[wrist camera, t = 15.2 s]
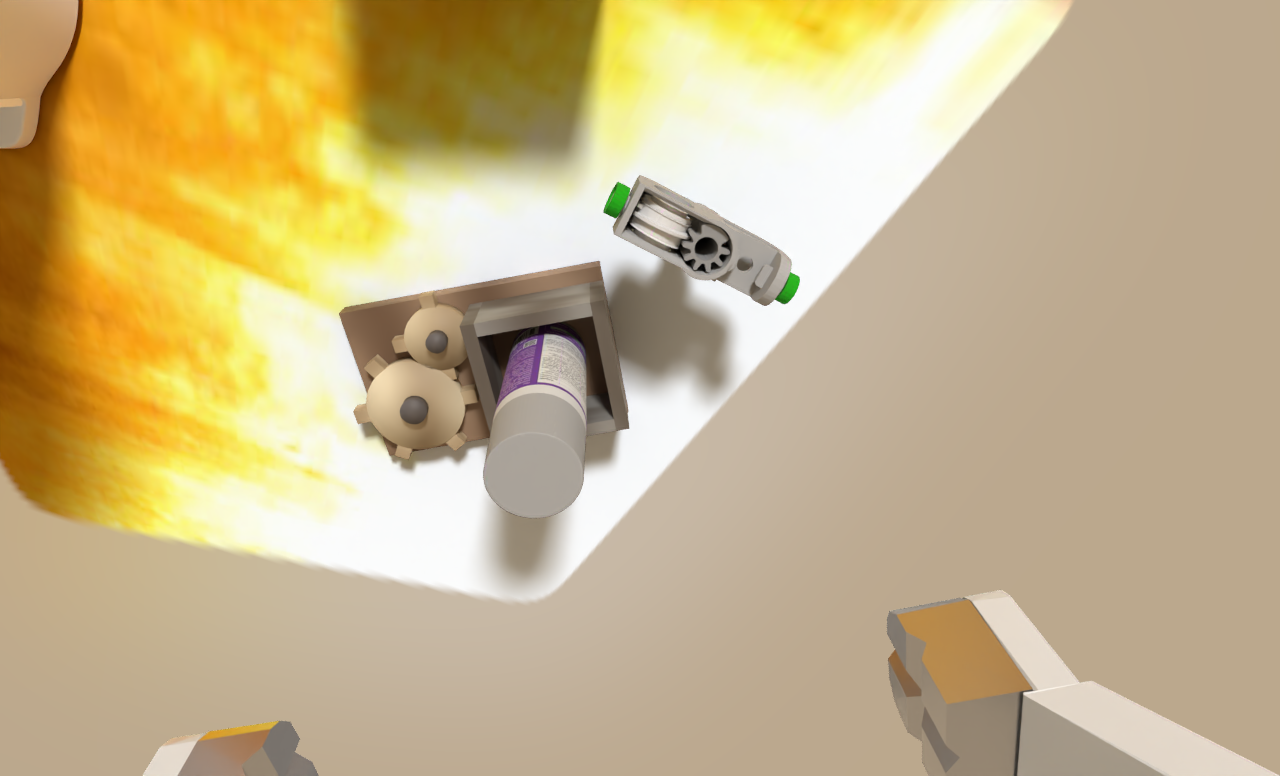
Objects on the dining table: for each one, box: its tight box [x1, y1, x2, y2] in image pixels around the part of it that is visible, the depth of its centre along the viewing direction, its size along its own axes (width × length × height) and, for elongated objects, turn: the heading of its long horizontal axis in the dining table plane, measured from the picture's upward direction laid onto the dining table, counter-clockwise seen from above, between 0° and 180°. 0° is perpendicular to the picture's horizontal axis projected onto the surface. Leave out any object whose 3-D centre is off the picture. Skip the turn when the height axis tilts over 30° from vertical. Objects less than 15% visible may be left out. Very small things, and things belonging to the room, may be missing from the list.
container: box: [483, 322, 587, 518], centre depth 39 cm, size 5×5×15 cm
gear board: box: [339, 261, 629, 460], centre depth 45 cm, size 17×10×5 cm, turn 100°
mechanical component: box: [604, 175, 800, 306], centre depth 40 cm, size 3×10×10 cm, turn 62°
